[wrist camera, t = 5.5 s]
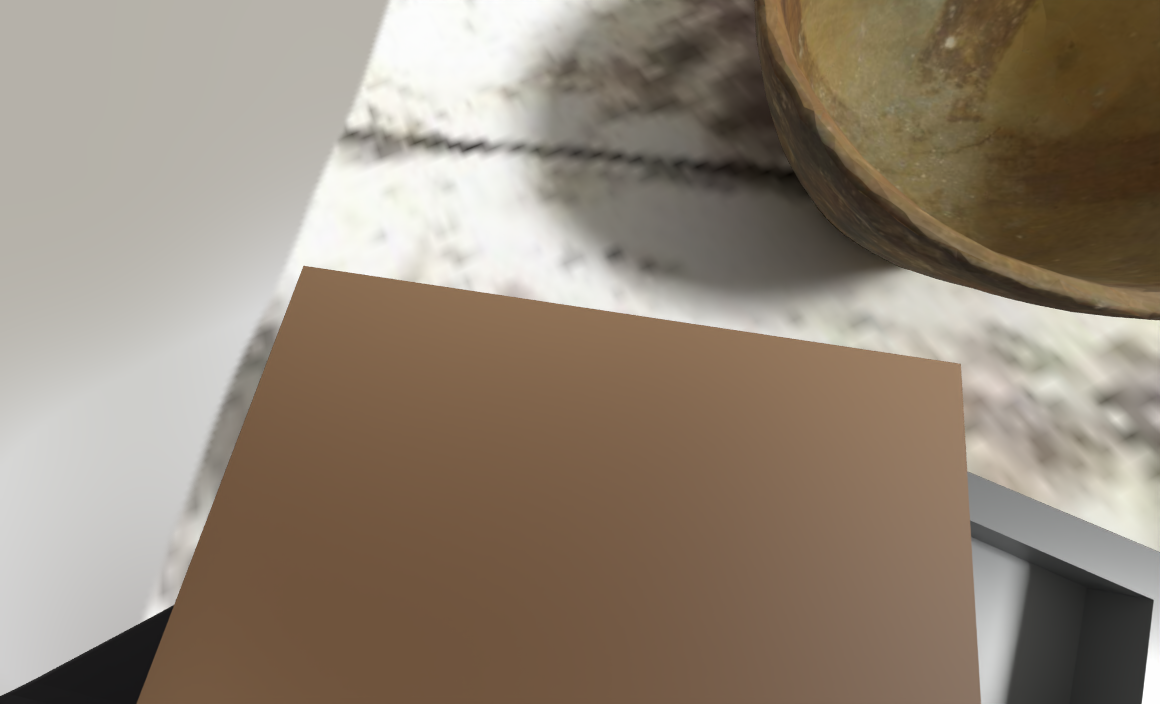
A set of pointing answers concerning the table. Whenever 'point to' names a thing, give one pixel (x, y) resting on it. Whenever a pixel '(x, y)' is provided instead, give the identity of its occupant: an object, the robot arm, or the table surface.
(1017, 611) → the socket
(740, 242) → the table surface
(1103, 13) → the bowl
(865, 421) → the tall wooden post
